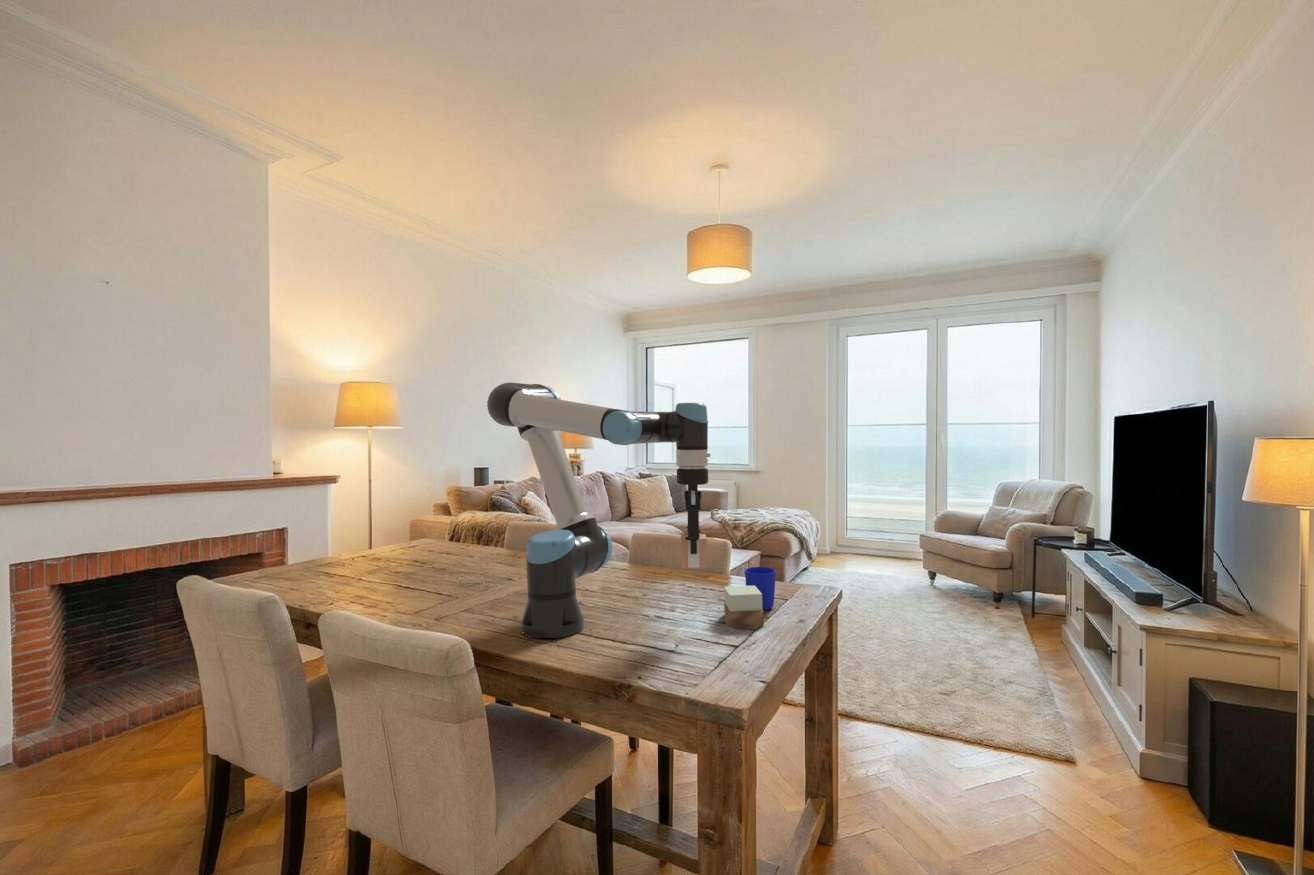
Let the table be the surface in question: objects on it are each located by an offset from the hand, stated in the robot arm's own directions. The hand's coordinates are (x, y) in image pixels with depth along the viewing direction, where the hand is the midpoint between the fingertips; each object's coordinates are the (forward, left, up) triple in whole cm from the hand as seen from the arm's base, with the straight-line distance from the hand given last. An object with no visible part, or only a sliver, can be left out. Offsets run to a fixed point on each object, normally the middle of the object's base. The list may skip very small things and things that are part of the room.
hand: (693, 563), depth 143 cm
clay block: (0, 0, 0) cm, 1 cm away
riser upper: (+12, +7, -12) cm, 19 cm away
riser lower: (+12, +7, -16) cm, 22 cm away
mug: (+18, +20, -16) cm, 31 cm away
